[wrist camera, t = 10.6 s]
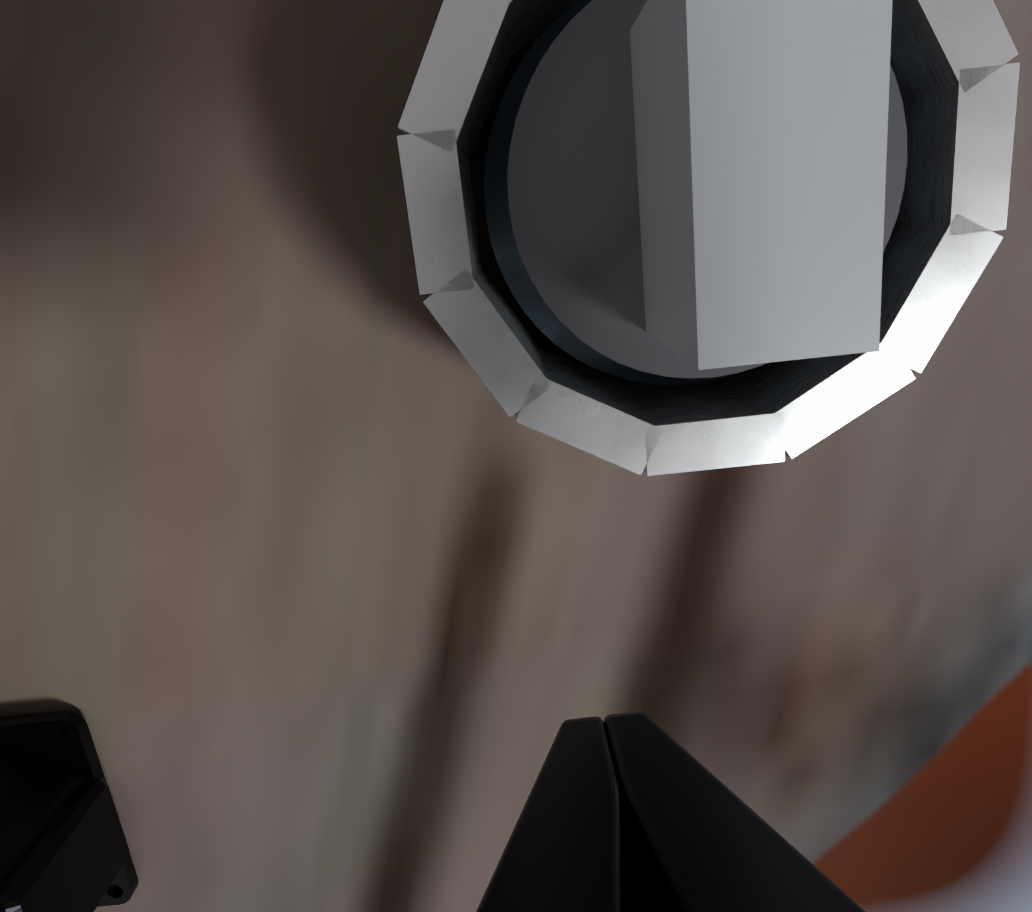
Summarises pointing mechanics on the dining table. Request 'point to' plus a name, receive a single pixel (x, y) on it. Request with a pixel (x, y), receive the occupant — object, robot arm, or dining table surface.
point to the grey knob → (712, 180)
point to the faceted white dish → (730, 398)
